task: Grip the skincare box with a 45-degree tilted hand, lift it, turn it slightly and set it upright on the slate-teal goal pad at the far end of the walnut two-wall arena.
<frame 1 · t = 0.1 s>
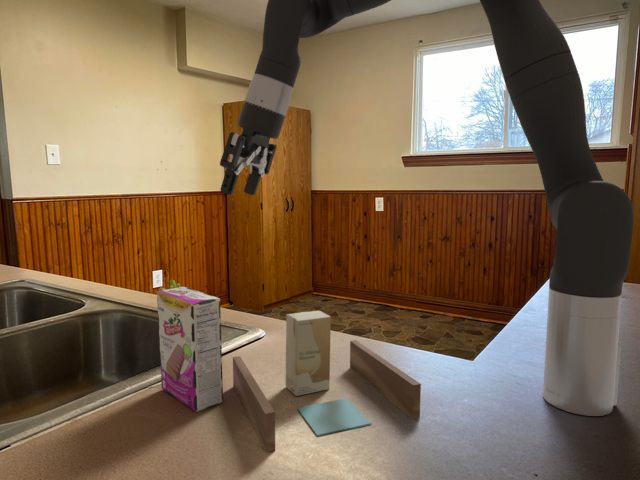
hand: (238, 193, 82), 31 cm above the worktop, tool tilted 20°, fingers open, 8 cm apart
candy bar box: (191, 397, 70), on the worktop
arena: (319, 401, 68), on the worktop
carrot: (175, 358, 86), on the worktop
skincare box: (308, 389, 73), on the worktop
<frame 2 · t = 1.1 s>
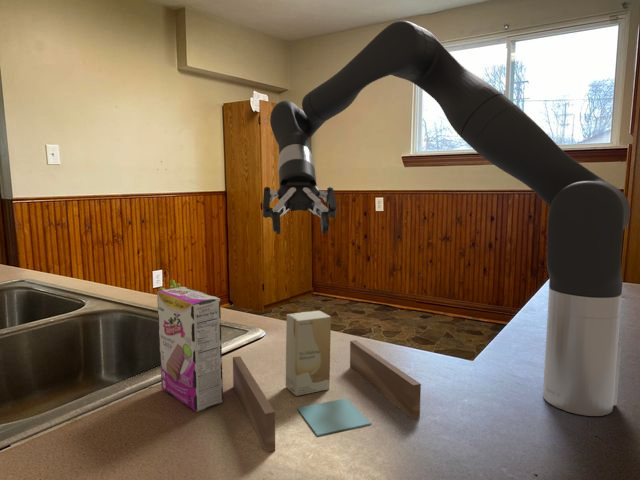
hand: (301, 231, 83), 24 cm above the worktop, tool tilted 45°, fingers open, 8 cm apart
nothing on the worktop moved.
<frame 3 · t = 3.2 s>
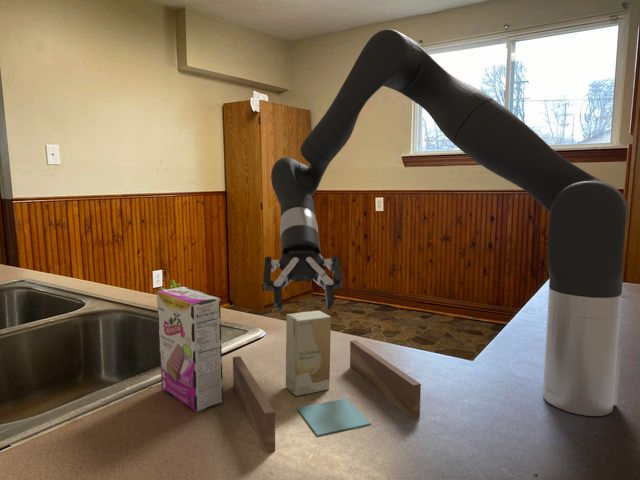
hand: (305, 307, 78), 12 cm above the worktop, tool tilted 45°, fingers open, 8 cm apart
nothing on the worktop moved.
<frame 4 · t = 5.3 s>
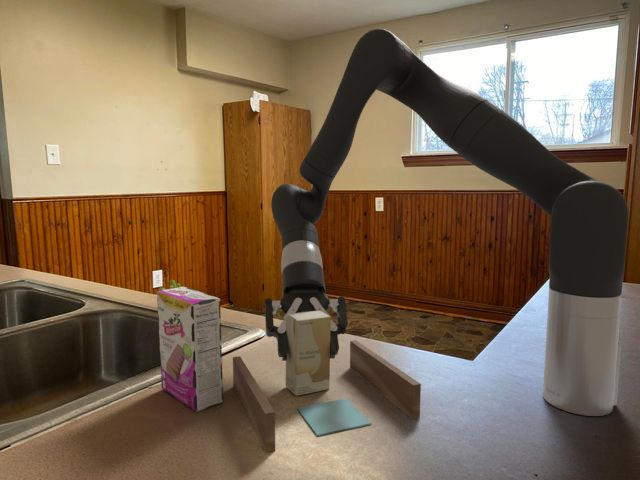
hand: (309, 357, 71), 6 cm above the worktop, tool tilted 45°, fingers closed on skincare box, 7 cm apart
skincare box: (308, 389, 73), on the worktop, touching gripper
everything else where it was.
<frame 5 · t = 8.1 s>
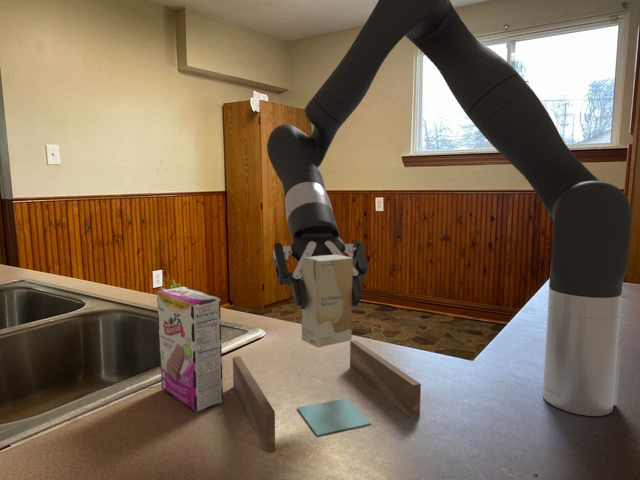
hand: (330, 304, 62), 16 cm above the worktop, tool tilted 45°, fingers closed on skincare box, 7 cm apart
skincare box: (327, 341, 65), point 10 cm above the worktop, touching gripper
everything else where it was.
when the fingers open (7 cm above the worktop, at t = 11.2 s): skincare box drops 1 cm, resting on arena.
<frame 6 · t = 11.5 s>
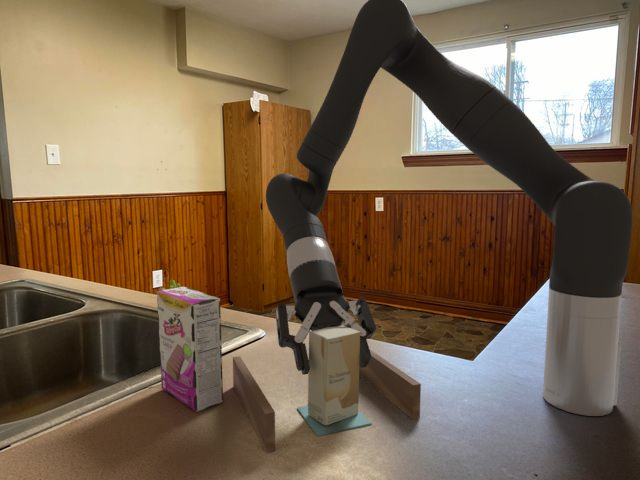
hand: (336, 368, 61), 8 cm above the worktop, tool tilted 45°, fingers open, 8 cm apart
skincare box: (333, 415, 64), resting on arena
everything else where it was.
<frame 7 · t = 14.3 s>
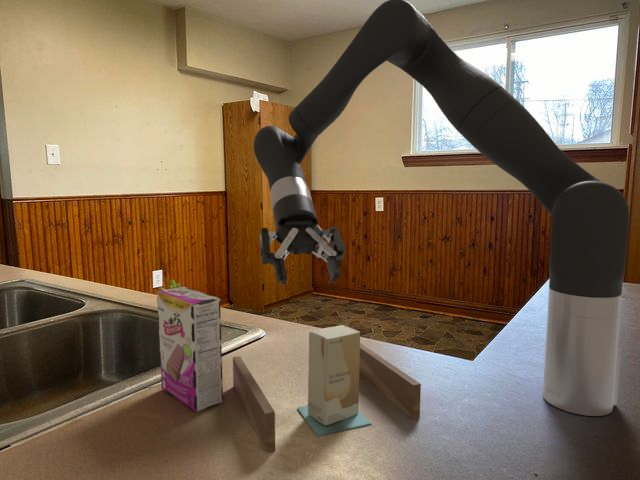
hand: (310, 280, 72), 17 cm above the worktop, tool tilted 45°, fingers open, 8 cm apart
nothing on the worktop moved.
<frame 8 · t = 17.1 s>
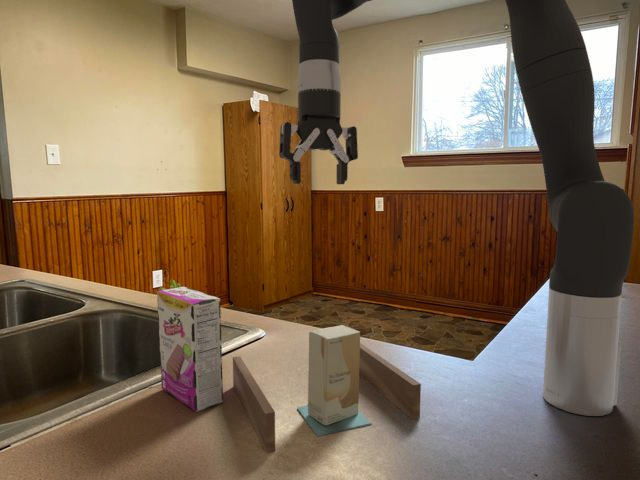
hand: (319, 184, 81), 33 cm above the worktop, tool pointing down, fingers open, 8 cm apart
nothing on the worktop moved.
at the end: skincare box inside the target area (0.2 cm from its centre), resting on arena; skincare box tilted 0°; the gripper is holding nothing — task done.
